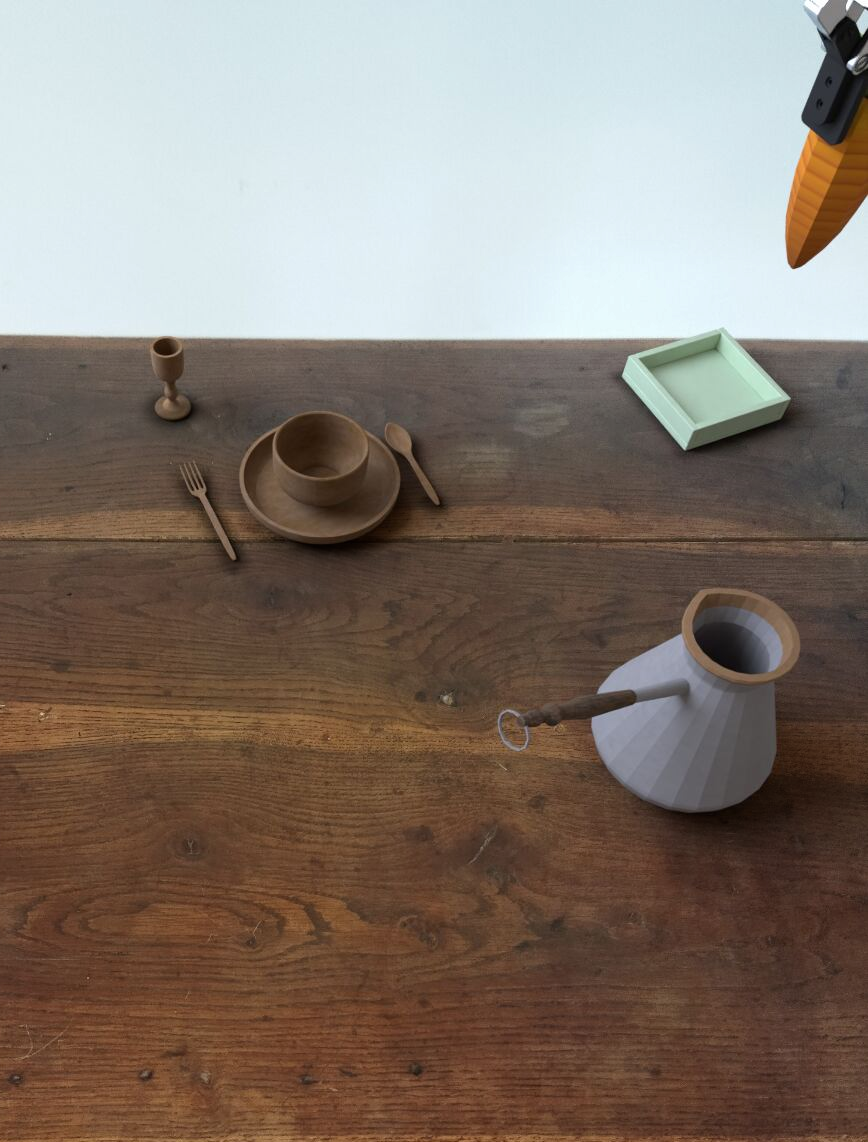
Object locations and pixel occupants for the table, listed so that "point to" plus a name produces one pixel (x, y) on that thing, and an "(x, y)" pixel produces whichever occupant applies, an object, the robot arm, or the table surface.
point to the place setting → (303, 468)
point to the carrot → (826, 189)
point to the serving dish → (705, 388)
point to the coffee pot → (692, 705)
